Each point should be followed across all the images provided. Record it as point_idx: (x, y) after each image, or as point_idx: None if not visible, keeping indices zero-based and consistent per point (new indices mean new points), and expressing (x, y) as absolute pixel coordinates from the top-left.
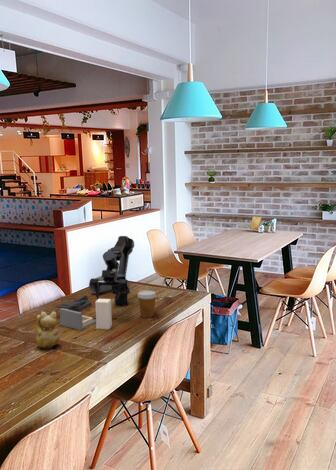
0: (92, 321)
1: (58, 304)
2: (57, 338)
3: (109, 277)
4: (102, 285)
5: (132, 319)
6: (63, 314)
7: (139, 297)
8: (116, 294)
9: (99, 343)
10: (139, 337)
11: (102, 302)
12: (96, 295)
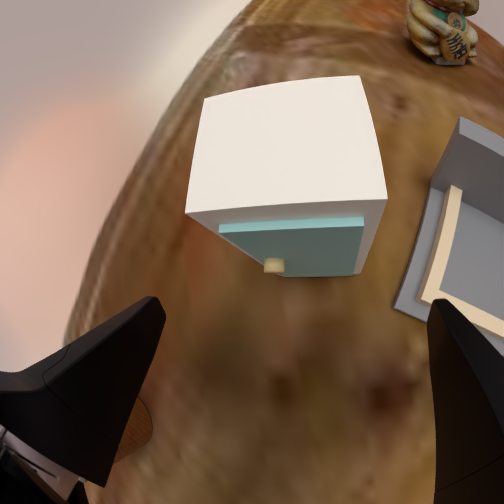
0: (414, 287)
1: None
2: (407, 21)
3: None
4: None
5: (179, 373)
6: None
7: None
8: (108, 330)
9: (276, 80)
10: (140, 163)
11: (266, 85)
12: (470, 325)
